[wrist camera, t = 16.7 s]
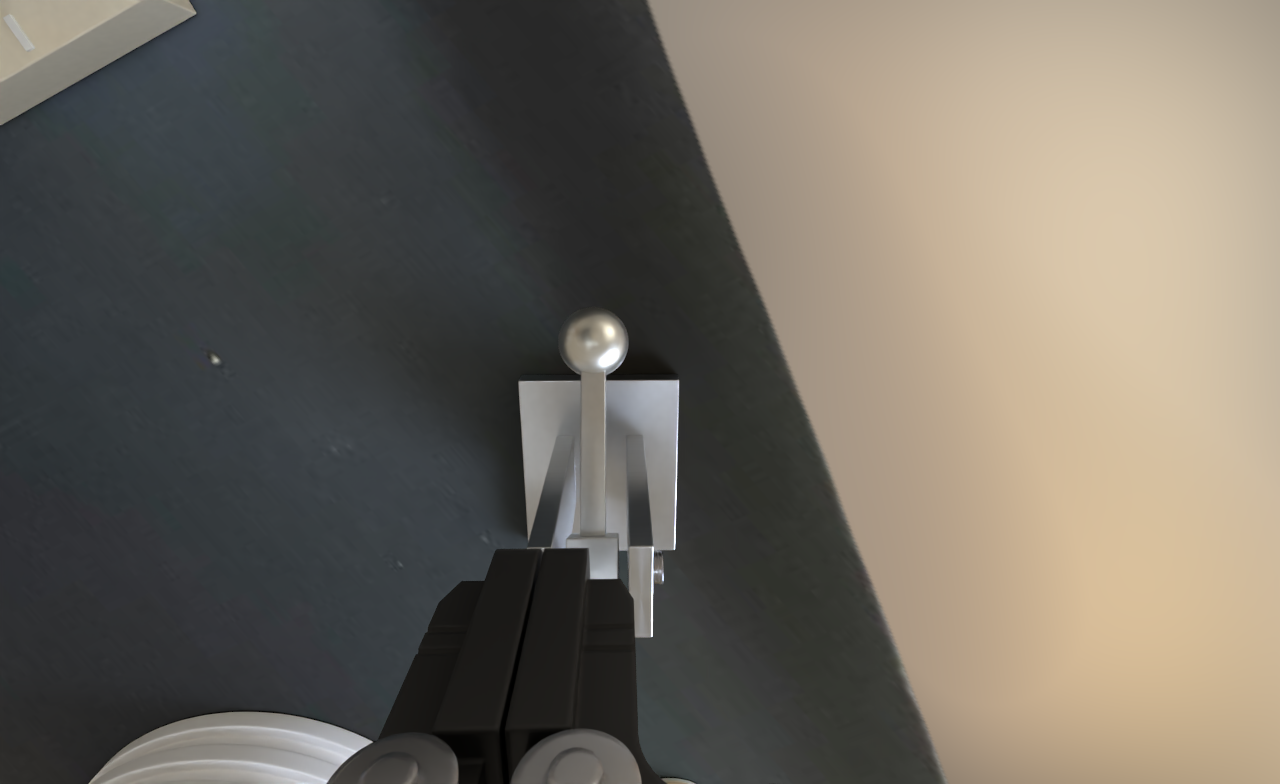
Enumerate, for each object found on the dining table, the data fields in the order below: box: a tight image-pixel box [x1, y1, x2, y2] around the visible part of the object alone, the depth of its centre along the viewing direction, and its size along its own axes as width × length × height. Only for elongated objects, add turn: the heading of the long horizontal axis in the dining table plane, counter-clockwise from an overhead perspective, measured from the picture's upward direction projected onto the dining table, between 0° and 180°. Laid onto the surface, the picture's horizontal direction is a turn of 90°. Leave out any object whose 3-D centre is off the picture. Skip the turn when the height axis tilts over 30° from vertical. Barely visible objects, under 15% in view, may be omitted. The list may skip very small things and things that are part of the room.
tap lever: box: [558, 307, 629, 579], centre depth 27 cm, size 13×3×3 cm, turn 0°
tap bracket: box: [518, 374, 679, 638], centre depth 31 cm, size 11×9×13 cm
